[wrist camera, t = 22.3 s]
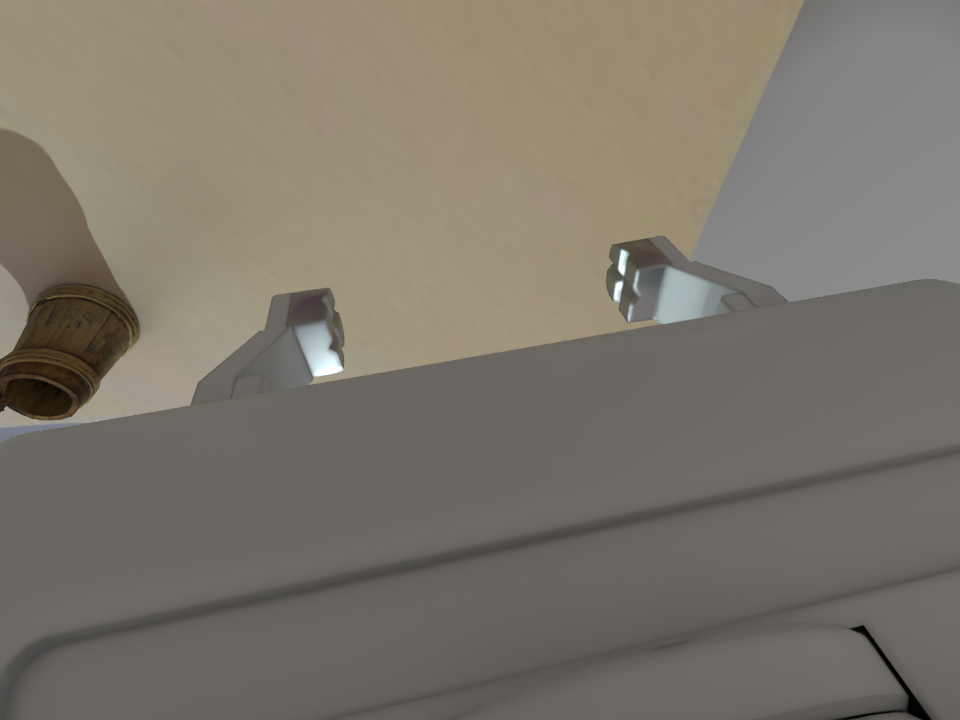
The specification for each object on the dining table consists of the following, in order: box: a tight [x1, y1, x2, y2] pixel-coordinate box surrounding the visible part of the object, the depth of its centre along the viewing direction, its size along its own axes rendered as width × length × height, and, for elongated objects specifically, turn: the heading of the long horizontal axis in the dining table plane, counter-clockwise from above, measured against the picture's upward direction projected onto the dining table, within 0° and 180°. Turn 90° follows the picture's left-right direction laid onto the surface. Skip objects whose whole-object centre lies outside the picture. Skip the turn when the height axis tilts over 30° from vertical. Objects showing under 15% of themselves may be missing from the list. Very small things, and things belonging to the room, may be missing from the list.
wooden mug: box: [0, 284, 140, 420], centre depth 43 cm, size 9×14×18 cm, turn 85°
